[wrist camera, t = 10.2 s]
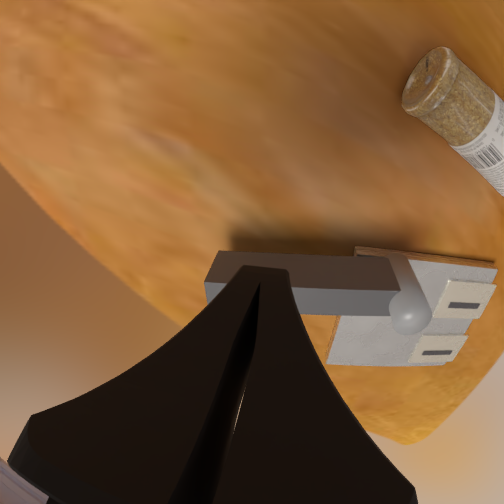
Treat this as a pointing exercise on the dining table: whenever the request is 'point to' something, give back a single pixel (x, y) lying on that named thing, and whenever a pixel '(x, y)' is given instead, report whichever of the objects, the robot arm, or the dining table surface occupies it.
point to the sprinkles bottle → (459, 111)
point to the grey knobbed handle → (338, 285)
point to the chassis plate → (440, 327)
